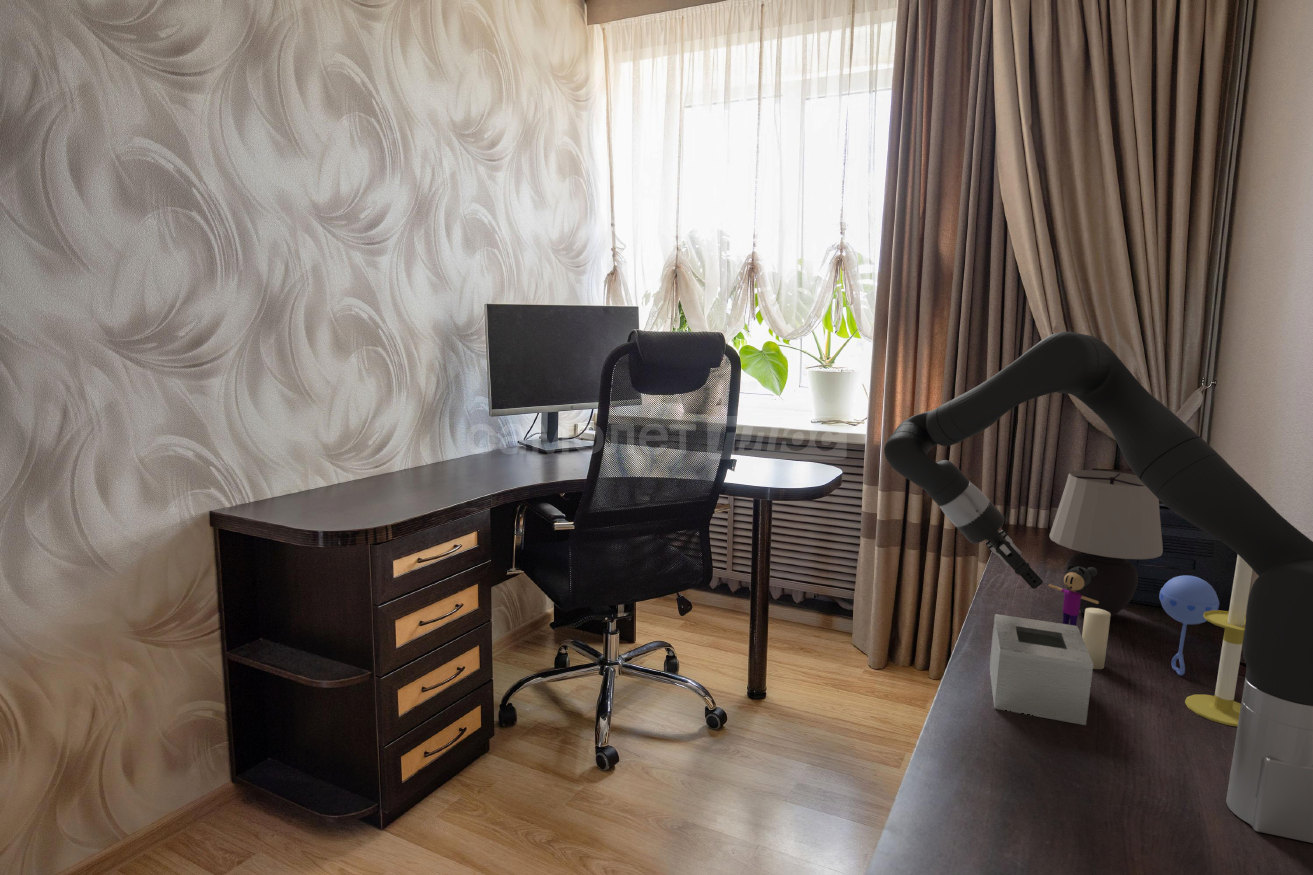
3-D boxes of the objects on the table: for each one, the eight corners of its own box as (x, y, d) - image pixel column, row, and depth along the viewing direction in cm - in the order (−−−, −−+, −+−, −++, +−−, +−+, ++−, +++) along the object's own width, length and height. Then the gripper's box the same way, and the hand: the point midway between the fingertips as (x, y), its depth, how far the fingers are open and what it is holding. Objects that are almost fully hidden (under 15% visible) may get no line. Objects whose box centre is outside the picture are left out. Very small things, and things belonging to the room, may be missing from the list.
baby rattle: (1217, 687, 133) (1232, 587, 130) (1161, 681, 135) (1175, 582, 132) (1194, 665, 142) (1207, 571, 139) (1141, 660, 143) (1154, 566, 140)
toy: (1037, 631, 155) (1045, 559, 153) (1055, 627, 158) (1063, 556, 155) (1086, 652, 146) (1096, 575, 144) (1104, 647, 149) (1114, 572, 146)
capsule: (1106, 670, 139) (1112, 617, 137) (1080, 666, 140) (1087, 613, 138) (1101, 661, 142) (1108, 609, 141) (1077, 657, 144) (1083, 606, 142)
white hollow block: (1085, 725, 119) (1093, 664, 118) (994, 708, 124) (1000, 649, 122) (1070, 680, 134) (1077, 625, 133) (989, 667, 139) (994, 613, 137)
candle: (1205, 723, 121) (1236, 521, 116) (1172, 693, 131) (1199, 505, 125) (1276, 730, 120) (1310, 526, 114) (1237, 698, 129) (1267, 509, 124)
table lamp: (1171, 638, 153) (1192, 490, 149) (1059, 628, 157) (1076, 483, 152) (1128, 601, 174) (1145, 470, 169) (1029, 593, 177) (1043, 464, 172)
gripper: (997, 507, 133) (1061, 577, 133) (978, 489, 147) (1037, 552, 147) (961, 535, 135) (1025, 604, 135) (946, 514, 149) (1004, 577, 149)
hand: (1031, 577), depth 141 cm, fingers open, 8 cm apart
